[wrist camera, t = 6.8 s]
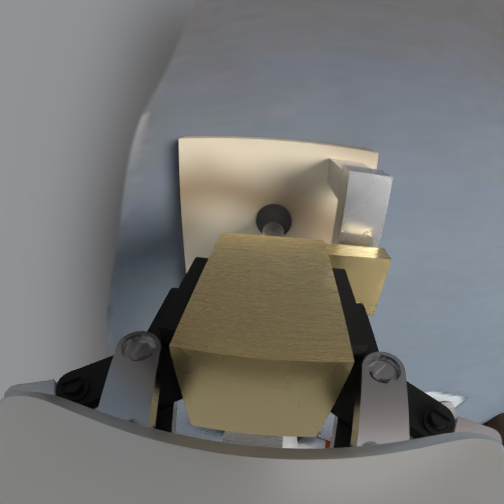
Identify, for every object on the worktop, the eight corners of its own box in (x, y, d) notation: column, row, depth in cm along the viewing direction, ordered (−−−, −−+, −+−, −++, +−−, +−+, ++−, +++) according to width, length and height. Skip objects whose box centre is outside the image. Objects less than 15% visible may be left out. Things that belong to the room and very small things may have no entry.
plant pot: (526, 394, 31) (545, 444, 17) (500, 424, 37) (513, 469, 23) (483, 417, 33) (501, 475, 19) (458, 444, 40) (470, 494, 26)
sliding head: (348, 263, 17) (398, 430, 7) (239, 254, 18) (191, 425, 8) (360, 203, 15) (458, 355, 5) (240, 193, 16) (169, 346, 6)
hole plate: (314, 386, 27) (315, 398, 26) (204, 376, 28) (201, 388, 27) (371, 149, 16) (379, 153, 14) (186, 136, 17) (177, 138, 15)
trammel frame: (306, 394, 26) (306, 505, 15) (239, 389, 26) (220, 500, 15) (362, 158, 15) (504, 267, 4) (244, 146, 15) (148, 238, 4)
